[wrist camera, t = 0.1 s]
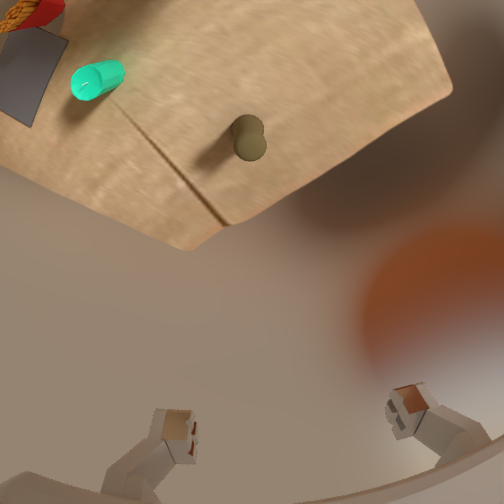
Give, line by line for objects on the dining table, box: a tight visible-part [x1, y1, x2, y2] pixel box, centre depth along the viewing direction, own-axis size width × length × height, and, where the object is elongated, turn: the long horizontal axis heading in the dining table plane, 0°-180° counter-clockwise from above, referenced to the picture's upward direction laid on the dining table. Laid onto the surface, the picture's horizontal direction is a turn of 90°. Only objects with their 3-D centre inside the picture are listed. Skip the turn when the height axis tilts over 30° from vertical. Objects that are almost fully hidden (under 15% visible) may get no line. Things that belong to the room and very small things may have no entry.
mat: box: [0, 27, 69, 127], centre depth 40 cm, size 20×16×1 cm
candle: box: [70, 60, 125, 101], centre depth 40 cm, size 6×6×12 cm
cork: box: [231, 114, 267, 161], centre depth 50 cm, size 6×6×11 cm
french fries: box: [0, 0, 65, 33], centre depth 29 cm, size 9×4×13 cm, turn 111°
